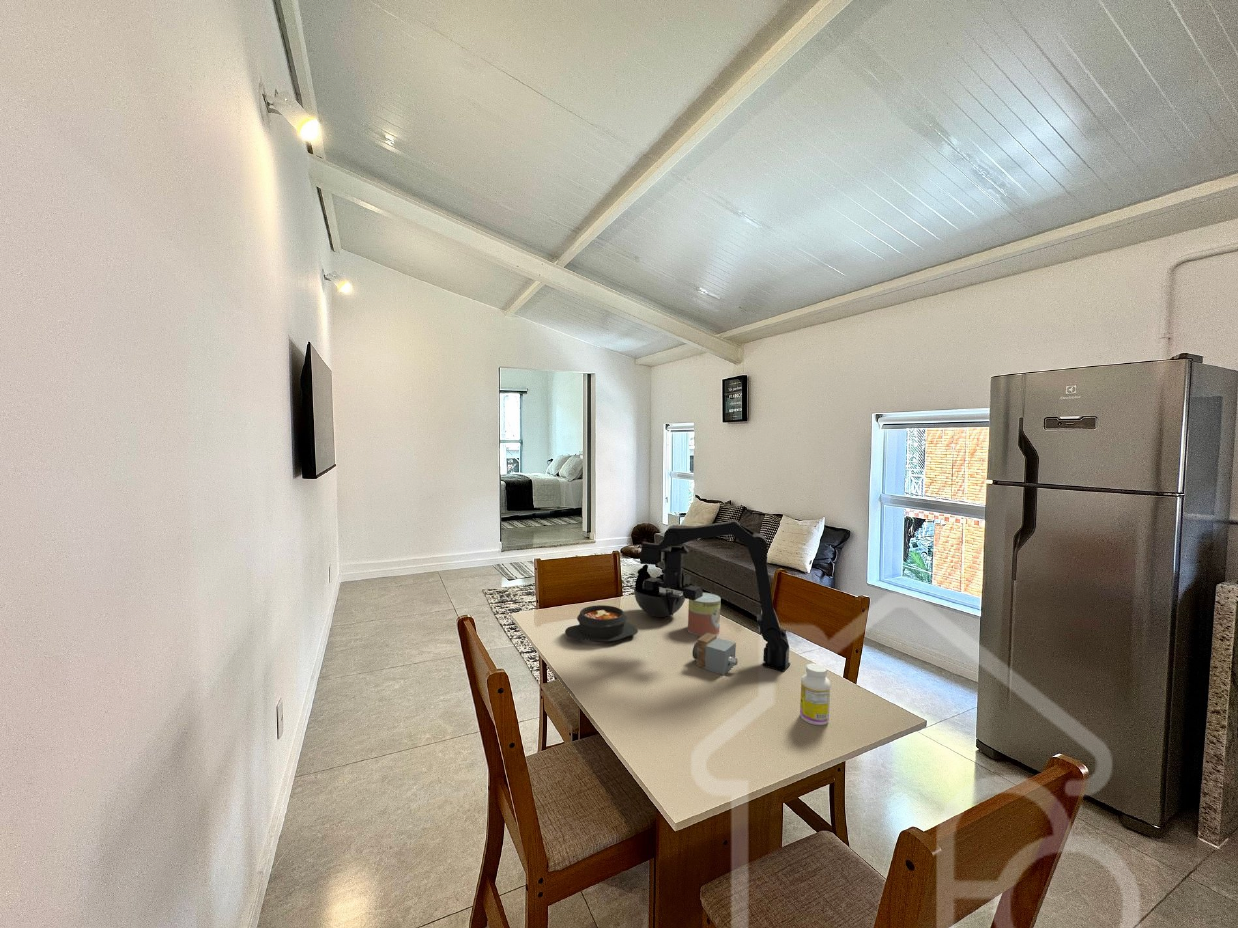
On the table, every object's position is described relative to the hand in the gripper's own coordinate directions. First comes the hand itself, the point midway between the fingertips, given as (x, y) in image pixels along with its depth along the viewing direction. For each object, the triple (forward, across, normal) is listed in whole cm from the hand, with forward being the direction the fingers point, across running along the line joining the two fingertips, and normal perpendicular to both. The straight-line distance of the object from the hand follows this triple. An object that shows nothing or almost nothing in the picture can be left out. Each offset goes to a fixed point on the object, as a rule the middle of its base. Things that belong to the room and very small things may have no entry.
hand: (671, 614), depth 160 cm
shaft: (+11, -15, 0) cm, 19 cm away
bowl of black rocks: (+12, +20, -27) cm, 36 cm away
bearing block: (+12, -17, 0) cm, 21 cm away
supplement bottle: (+12, -47, +12) cm, 50 cm away
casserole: (+12, +25, +3) cm, 28 cm away
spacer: (+12, -12, 0) cm, 17 cm away
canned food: (+12, 0, -24) cm, 27 cm away
